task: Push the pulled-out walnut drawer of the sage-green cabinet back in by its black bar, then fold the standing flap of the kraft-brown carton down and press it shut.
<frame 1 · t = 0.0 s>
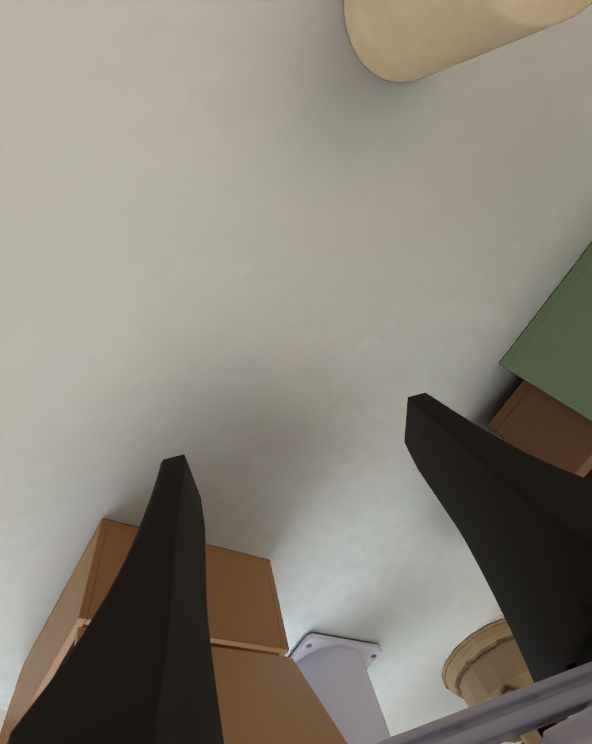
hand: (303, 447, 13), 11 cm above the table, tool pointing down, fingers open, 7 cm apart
lantern: (494, 654, 43), on the table
candle: (401, 8, 18), on the table
drawer: (590, 451, 26), point 4 cm above the table, slide at 5.0 cm
flap: (211, 694, 18), point 10 cm above the table, hinge at 115.0°
carton: (148, 611, 29), on the table
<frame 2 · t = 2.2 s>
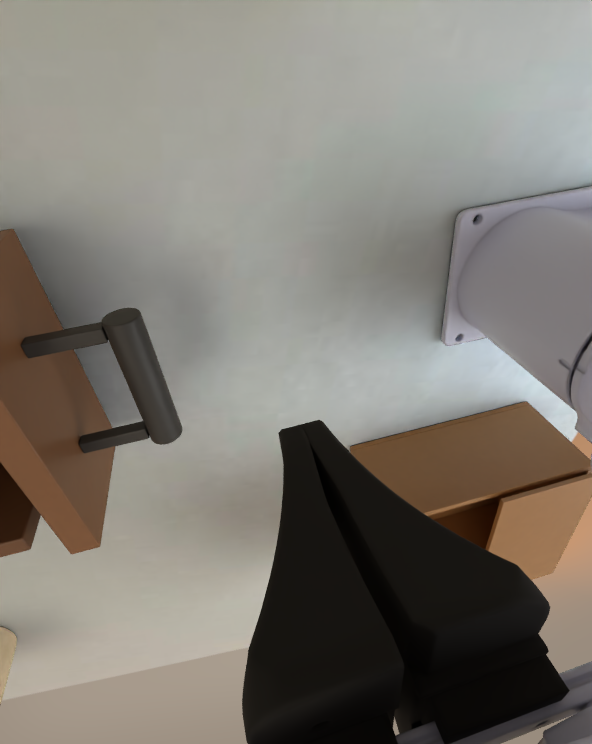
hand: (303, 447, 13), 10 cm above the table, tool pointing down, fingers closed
carton: (433, 476, 34), on the table
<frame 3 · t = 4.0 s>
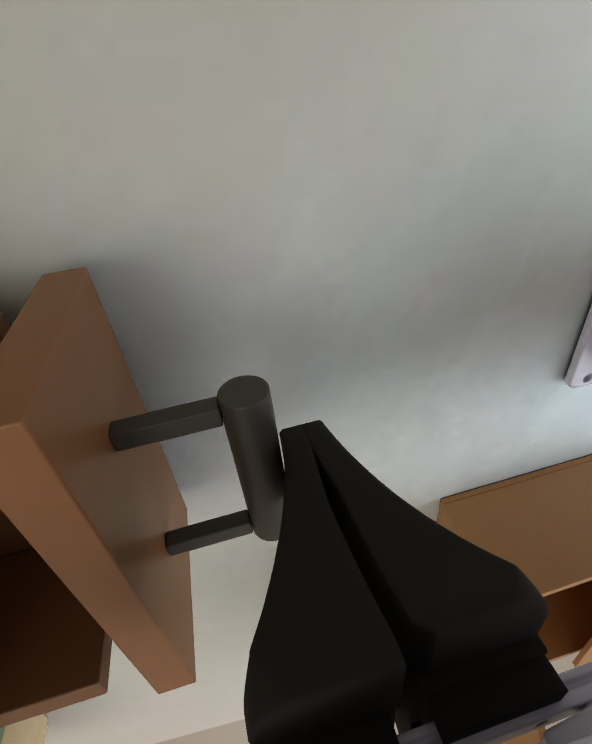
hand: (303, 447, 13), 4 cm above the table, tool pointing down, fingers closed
candle: (1, 723, 28), on the table
carton: (521, 524, 30), on the table
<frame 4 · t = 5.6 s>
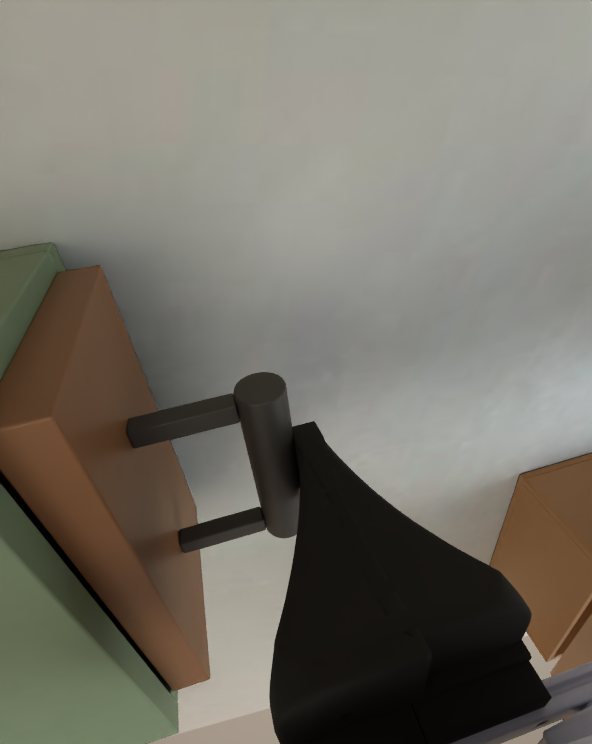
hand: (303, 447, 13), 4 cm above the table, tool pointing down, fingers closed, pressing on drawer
carton: (585, 502, 31), on the table
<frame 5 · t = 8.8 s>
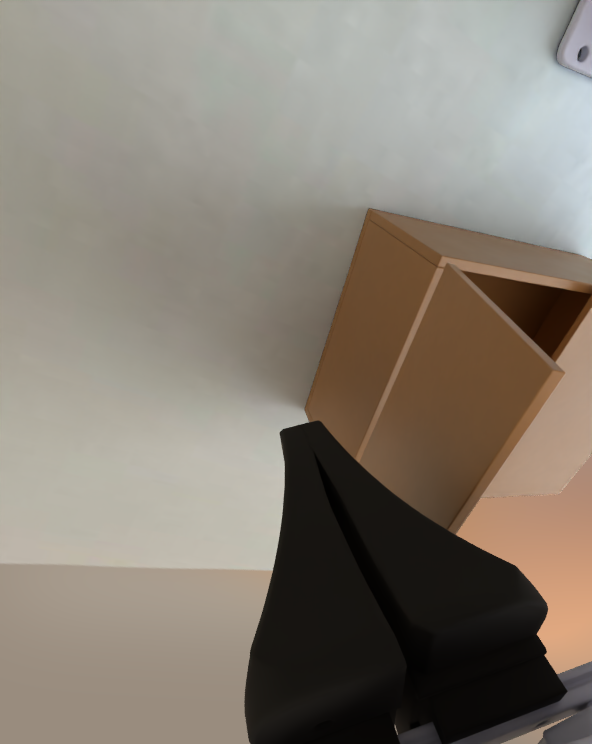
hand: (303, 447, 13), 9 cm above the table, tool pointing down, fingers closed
flap: (405, 465, 14), point 10 cm above the table, hinge at 105.4°, touching gripper
carton: (439, 334, 25), on the table
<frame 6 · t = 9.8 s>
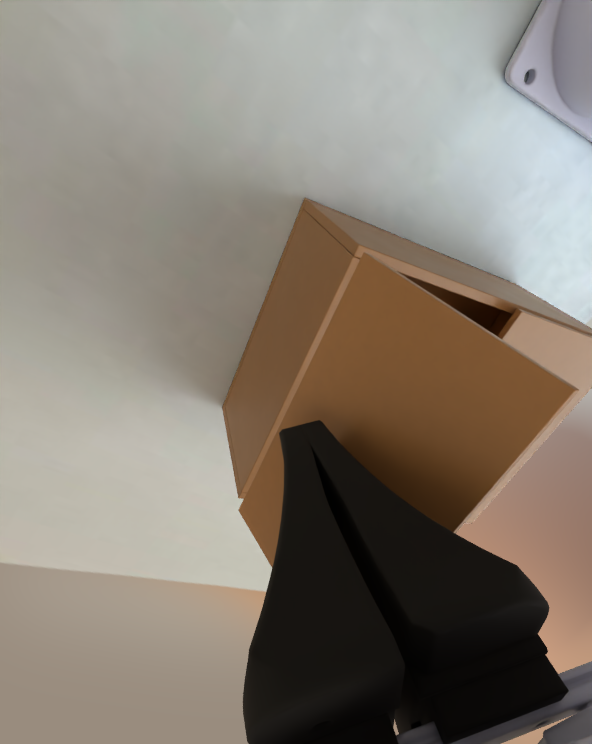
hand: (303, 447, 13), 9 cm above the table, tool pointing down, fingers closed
flap: (350, 470, 13), point 10 cm above the table, hinge at 69.6°, touching gripper
carton: (371, 345, 24), on the table
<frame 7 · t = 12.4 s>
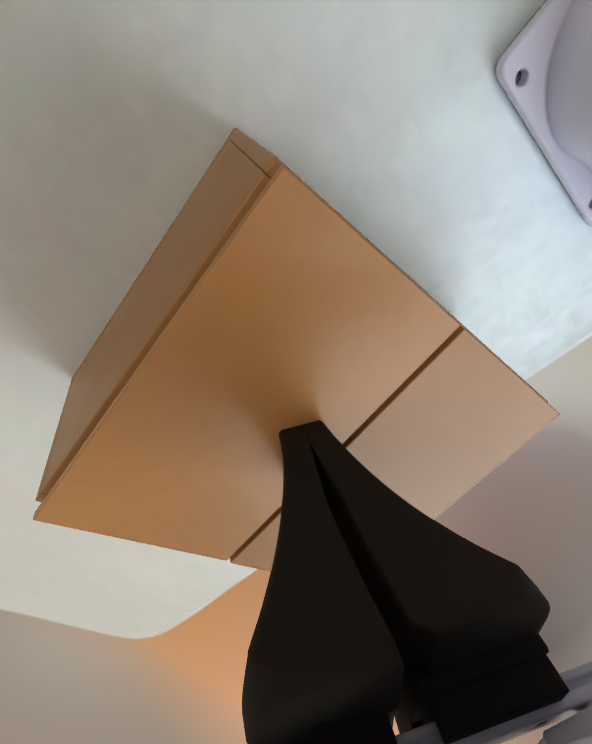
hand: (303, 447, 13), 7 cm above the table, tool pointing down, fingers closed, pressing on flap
flap: (246, 419, 12), point 7 cm above the table, hinge at -0.5°, touching gripper
carton: (282, 349, 19), on the table
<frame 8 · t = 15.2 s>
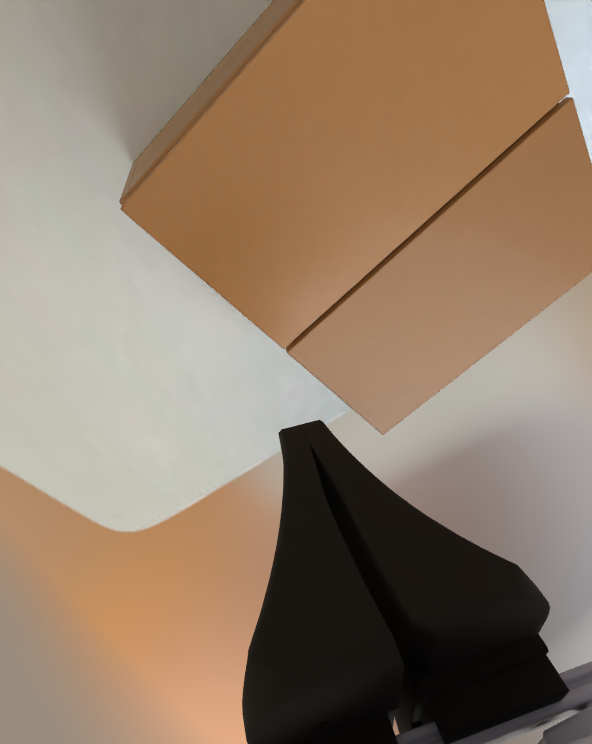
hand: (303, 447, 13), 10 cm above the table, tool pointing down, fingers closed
flap: (355, 147, 12), point 7 cm above the table, hinge at -0.5°
carton: (342, 189, 19), on the table
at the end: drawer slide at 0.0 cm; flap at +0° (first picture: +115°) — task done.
